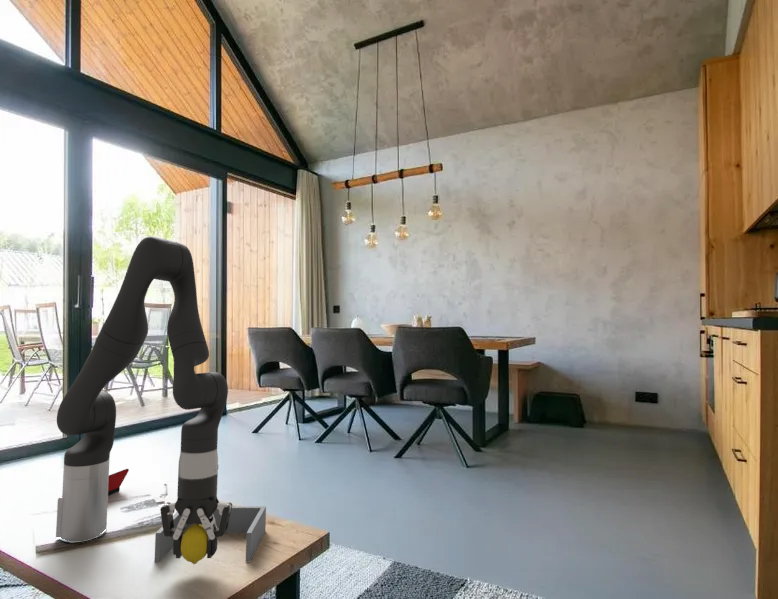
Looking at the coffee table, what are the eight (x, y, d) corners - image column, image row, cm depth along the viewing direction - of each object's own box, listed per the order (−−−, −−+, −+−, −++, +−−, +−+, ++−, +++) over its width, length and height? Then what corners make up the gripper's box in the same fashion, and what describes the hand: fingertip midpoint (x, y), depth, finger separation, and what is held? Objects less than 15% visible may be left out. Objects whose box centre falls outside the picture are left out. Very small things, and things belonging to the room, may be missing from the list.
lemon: (199, 572, 94) (200, 530, 95) (173, 568, 96) (175, 527, 96) (214, 558, 100) (216, 519, 100) (190, 555, 101) (192, 516, 101)
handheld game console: (99, 489, 146) (101, 464, 146) (129, 493, 143) (130, 467, 143) (61, 504, 134) (63, 476, 134) (93, 508, 131) (94, 480, 131)
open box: (154, 562, 102) (155, 533, 102) (181, 531, 117) (182, 506, 117) (250, 561, 103) (251, 532, 103) (265, 531, 118) (266, 506, 118)
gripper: (154, 477, 95) (150, 566, 94) (228, 477, 95) (225, 565, 94) (169, 466, 102) (166, 548, 101) (238, 466, 103) (236, 547, 102)
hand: (195, 556), depth 98 cm, fingers closed on lemon, 5 cm apart
